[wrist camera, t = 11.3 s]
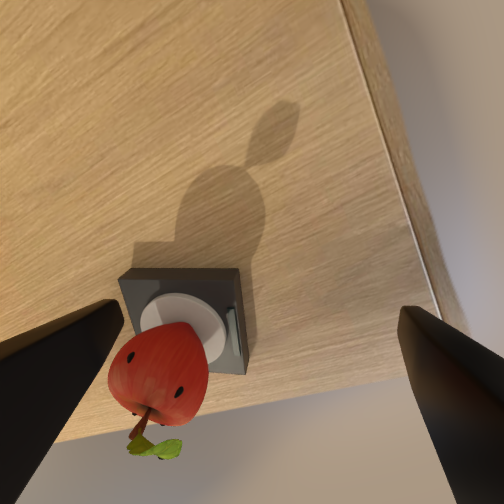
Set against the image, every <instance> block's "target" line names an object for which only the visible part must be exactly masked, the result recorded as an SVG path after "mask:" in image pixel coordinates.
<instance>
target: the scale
mask: <svg viewBox="0 0 504 504" xmlns="http://www.w3.org/2000/svg"><path fill="white" fill-rule="evenodd" d="M118 282H119V285H120V288H121V291H122V294H123V297H124V300H125V303H126V306H127V310H128V313H129V316H130V319H131V322H132V325H133V328H134V331H135V334H136V335H138V334H140V333H142V332H143V331H146V330H148V329H151V328H153V327H156V326H160V325H163V324H170V323H176V322H186V323H189V324H190V325H191V326H192V327H193V329H194V331H195V332H196V334H197V335H198V337H199V339H200V340H201V342H202V344H203V347H204V351H205V354H206V358H207V362H208V368H209V372H212V373H226V374H239V375H246V371H247V367H248V362H249V351H248V343H247V334H246V326H245V317H244V308H243V300H242V291H241V283H240V274H239V269H212V268H131V269H129V270H128V271H127V272H126V273H125V274H123V275H122V276H121V277H120V278H119V279H118Z"/></svg>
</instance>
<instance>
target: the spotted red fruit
mask: <svg viewBox="0 0 504 504" xmlns="http://www.w3.org/2000/svg"><path fill="white" fill-rule="evenodd" d="M208 376H209V368H208V362H207V358H206V354H205V351H204V347H203V344H202V342H201V340H200V339H199V337H198V335H197V334H196V332H195V331H194V329H193V327H192V326H191V325H190V324H189V323H186V322H176V323H170V324H163V325H160V326H156V327H153V328H151V329H148V330H146V331H143V332H142V333H140V334H138V335H136V336H135V337H133V338H132V339H131V340H129V341H128V342H127V343H126V344H125V345H124V346H123V347H122V348H121V349H120V351H119V352H118V353H117V355H116V356H115V358H114V360H113V362H112V364H111V366H110V369H109V373H108V386H109V390H110V392H111V394H112V395H113V397H114V398H115V399H116V400H117V401H118V402H119V403H120V404H121V405H122V406H123V407H124V408H126V409H127V410H129V411H131V412H132V415H134V416H135V415H139V416H141V417H142V418H141V420H140V421H139V422H138V424H137V425H136V426H135V427H134V429H133V430H132V432H131V433H130V435H129V438H130V439H131V440H132V441H131V442H130V443H129V445H128V446H127V449H128V450H130V451H129V453H130V454H132V455H139V456H148V455H152V454H154V455H157V456H158V458H159V459H162V460H163V459H172V458H174V457H177V456H179V453H180V451H181V447H182V441H181V440H179V439H171V440H166V441H164V442H161V443H160V444H158V445H156V446H155V445H154V444H152V443H151V442H149V441H148V440H147V439H146V438H144V437H143V436H142V434H143V432H144V430H145V427H146V424H147V421H148V420H151V421H153V422H156V423H159V424H160V425H161V426H165V425H168V426H181V425H184V424H186V423H188V422H189V421H190V420H191V419H193V417H194V416H195V415H196V413H197V412H198V410H199V408H200V406H201V404H202V402H203V400H204V396H205V393H206V389H207V384H208Z"/></svg>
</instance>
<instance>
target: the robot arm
mask: <svg viewBox="0 0 504 504" xmlns="http://www.w3.org/2000/svg"><path fill="white" fill-rule="evenodd" d="M123 325H124V317H123V314H122V311H121V308H120V305H119V303H118V301H117V300H115V299H103V300H101V301H98V302H96V303H94V304H91V305H89V306H86V307H84V308H82V309H79V310H77V311H74V312H72V313H70V314H67V315H65V316H62V317H60V318H58V319H55V320H53V321H50V322H48V323H46V324H43V325H41V326H39V327H36V328H34V329H31V330H29V331H27V332H24V333H22V334H19V335H17V336H15V337H12V338H10V339H7V340H5V341H3V342H0V504H15V502H16V501H17V499H18V498H19V496H20V495H21V493H22V491H23V490H24V488H25V487H26V485H27V484H28V482H29V480H30V479H31V477H32V476H33V474H34V473H35V471H36V469H37V468H38V466H39V465H40V463H41V462H42V460H43V458H44V457H45V455H46V454H47V452H48V451H49V449H50V448H51V446H52V444H53V443H54V441H55V440H56V438H57V437H58V435H59V433H60V432H61V430H62V429H63V427H64V426H65V424H66V422H67V421H68V419H69V418H70V416H71V415H72V413H73V411H74V410H75V408H76V407H77V405H78V404H79V402H80V401H81V399H82V397H83V396H84V394H85V393H86V391H87V390H88V388H89V386H90V385H91V383H92V382H93V380H94V379H95V377H96V375H97V374H98V372H99V371H100V369H101V367H102V366H103V364H104V362H105V360H106V358H107V356H108V355H109V353H110V351H111V349H112V347H113V345H114V343H115V341H116V339H117V337H118V335H119V333H120V331H121V330H122V328H123ZM397 334H398V339H399V343H400V347H401V351H402V354H403V358H404V362H405V366H406V369H407V373H408V377H409V381H410V384H411V387H412V390H413V393H414V396H415V399H416V401H417V404H418V406H419V409H420V411H421V414H422V416H423V419H424V422H425V424H426V427H427V429H428V432H429V434H430V437H431V439H432V442H433V444H434V447H435V449H436V452H437V454H438V457H439V460H440V462H441V465H442V467H443V470H444V472H445V475H446V477H447V480H448V482H449V485H450V487H451V490H452V492H453V495H454V498H455V500H456V503H457V504H504V358H502V357H500V356H499V355H497V354H496V353H494V352H492V351H491V350H489V349H487V348H486V347H484V346H482V345H481V344H479V343H478V342H476V341H474V340H473V339H471V338H470V337H468V336H466V335H465V334H463V333H461V332H460V331H458V330H457V329H455V328H453V327H452V326H450V325H448V324H447V323H445V322H444V321H442V320H440V319H439V318H437V317H435V316H434V315H432V314H431V313H429V312H427V311H426V310H424V309H422V308H421V307H419V306H402V307H401V310H400V315H399V322H398V329H397Z"/></svg>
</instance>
